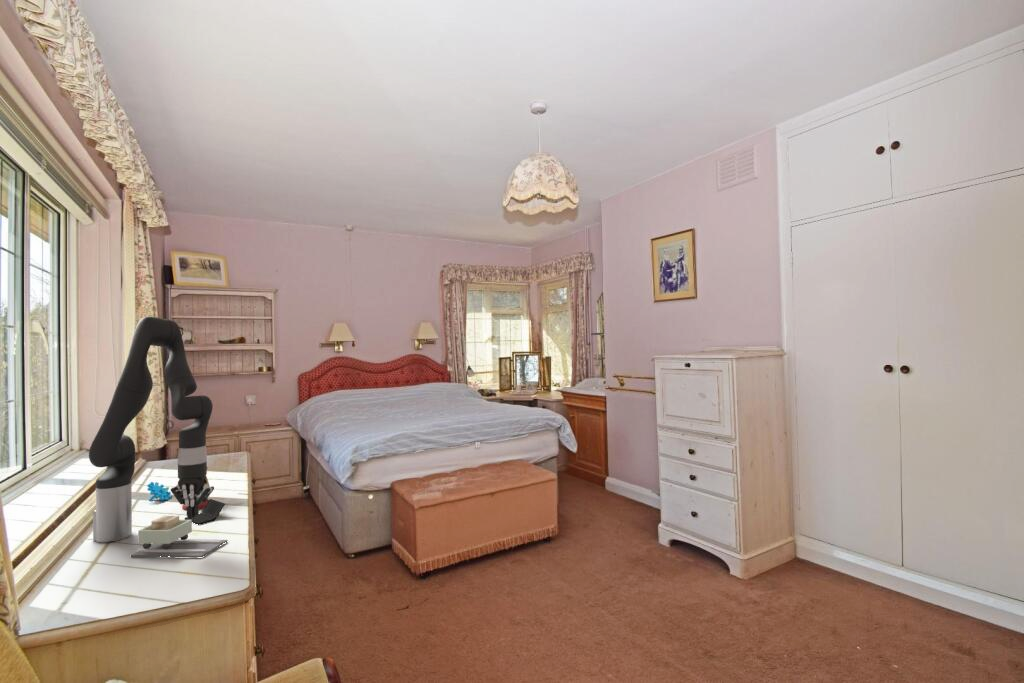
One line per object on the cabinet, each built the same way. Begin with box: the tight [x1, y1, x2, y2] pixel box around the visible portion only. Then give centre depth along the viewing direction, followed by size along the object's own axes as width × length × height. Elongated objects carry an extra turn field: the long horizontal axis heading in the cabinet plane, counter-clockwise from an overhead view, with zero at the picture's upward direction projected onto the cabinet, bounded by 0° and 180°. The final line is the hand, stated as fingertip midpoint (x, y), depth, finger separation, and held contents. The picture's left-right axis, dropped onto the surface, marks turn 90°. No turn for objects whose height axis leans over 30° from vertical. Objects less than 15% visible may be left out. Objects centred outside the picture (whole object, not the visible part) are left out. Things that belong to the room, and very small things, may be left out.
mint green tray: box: [137, 519, 193, 549], centre depth 153 cm, size 10×10×6 cm
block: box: [151, 515, 180, 530], centre depth 153 cm, size 5×5×5 cm
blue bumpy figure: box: [146, 481, 172, 502], centre depth 205 cm, size 11×6×10 cm
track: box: [130, 538, 229, 558], centre depth 153 cm, size 22×12×1 cm, turn 86°
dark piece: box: [184, 498, 226, 526], centre depth 181 cm, size 12×7×10 cm
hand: (192, 517), depth 152 cm, fingers closed
